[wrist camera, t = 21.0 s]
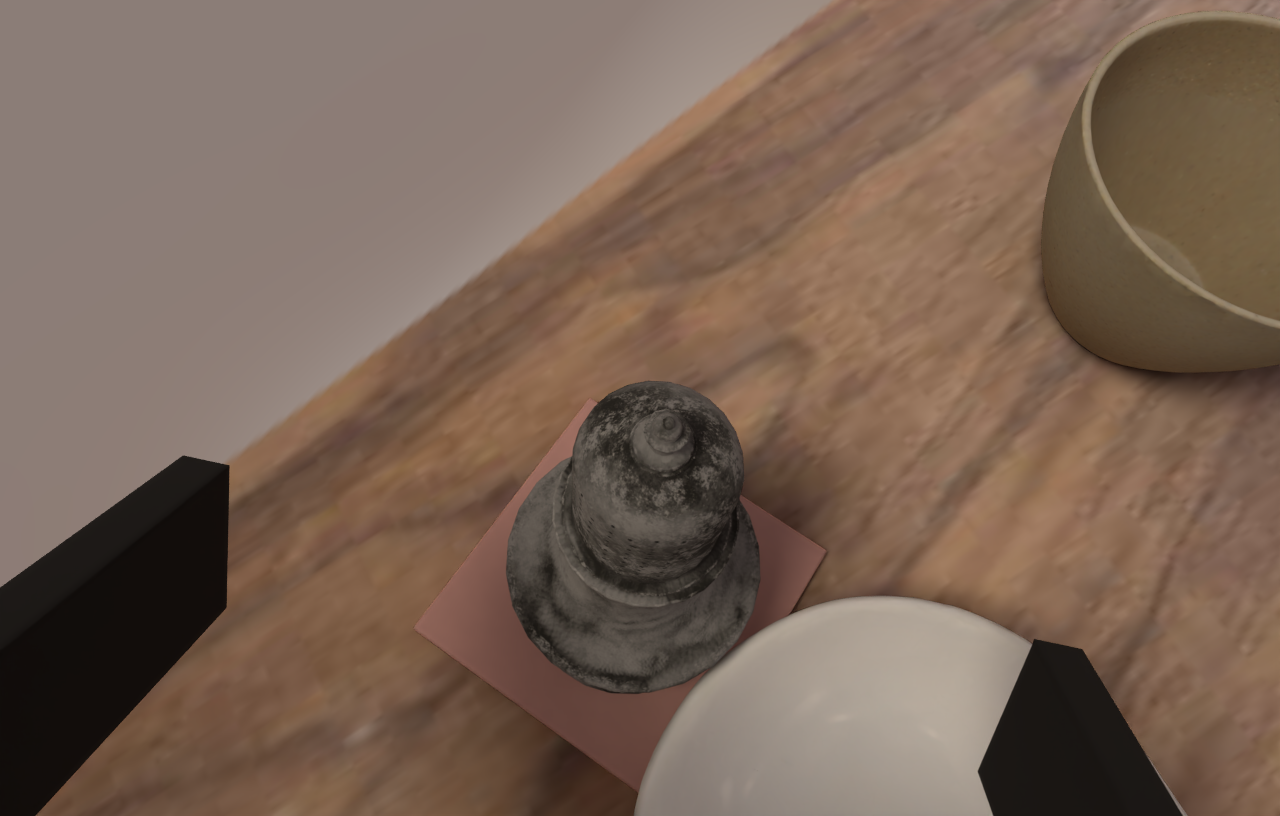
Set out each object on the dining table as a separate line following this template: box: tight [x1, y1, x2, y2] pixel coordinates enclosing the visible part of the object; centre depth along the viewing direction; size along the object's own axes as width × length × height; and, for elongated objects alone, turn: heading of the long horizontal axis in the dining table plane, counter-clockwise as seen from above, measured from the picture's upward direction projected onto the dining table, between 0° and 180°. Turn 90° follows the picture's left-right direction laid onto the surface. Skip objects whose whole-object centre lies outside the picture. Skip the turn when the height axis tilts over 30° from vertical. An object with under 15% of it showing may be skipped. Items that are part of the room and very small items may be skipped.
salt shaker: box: [506, 381, 761, 694], centre depth 18 cm, size 6×6×12 cm
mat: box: [414, 398, 826, 793], centre depth 24 cm, size 8×8×1 cm
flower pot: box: [1041, 11, 1280, 373], centre depth 26 cm, size 10×10×7 cm
